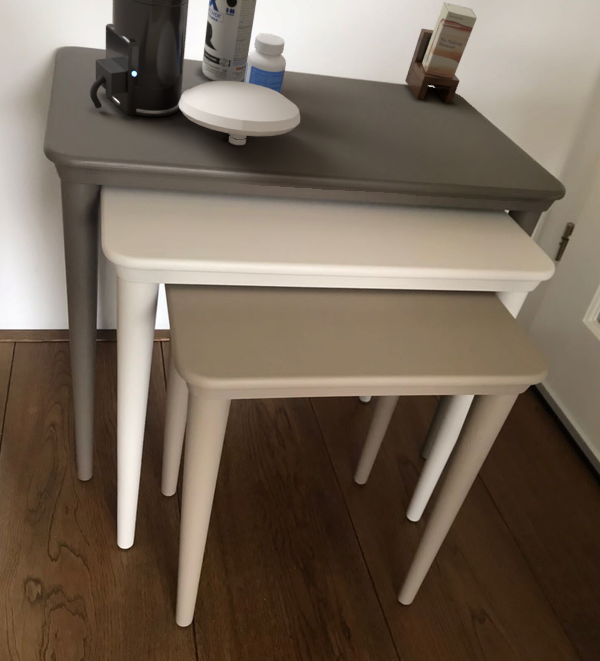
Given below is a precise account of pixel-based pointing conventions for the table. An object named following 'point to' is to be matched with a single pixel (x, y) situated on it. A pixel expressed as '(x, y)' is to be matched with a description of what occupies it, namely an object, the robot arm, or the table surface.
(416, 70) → the miniature wooden chair
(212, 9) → the spray can
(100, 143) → the table surface
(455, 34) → the cream cosmetic box
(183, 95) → the white domed disc
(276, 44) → the pill bottle
